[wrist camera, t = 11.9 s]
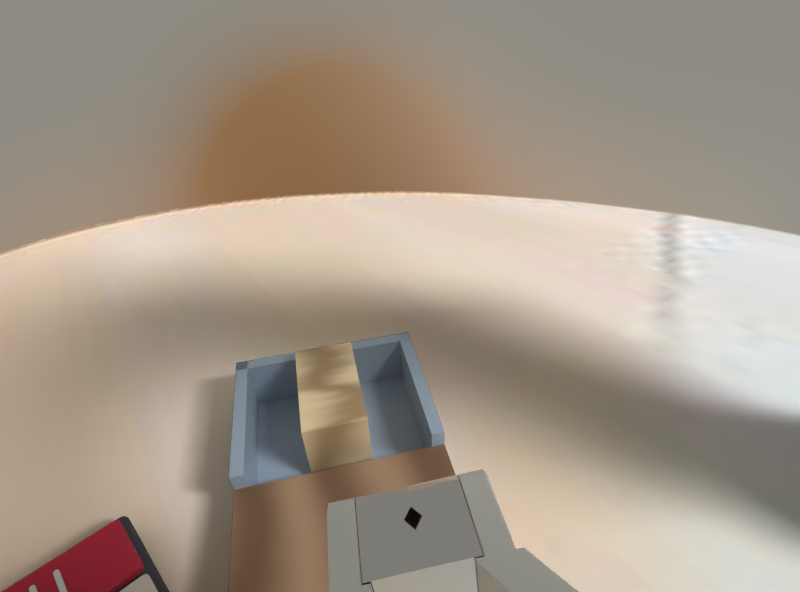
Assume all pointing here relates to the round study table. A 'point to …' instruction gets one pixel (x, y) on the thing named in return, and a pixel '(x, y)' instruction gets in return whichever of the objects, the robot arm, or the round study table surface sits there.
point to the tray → (280, 417)
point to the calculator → (98, 565)
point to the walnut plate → (310, 518)
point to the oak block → (331, 408)
